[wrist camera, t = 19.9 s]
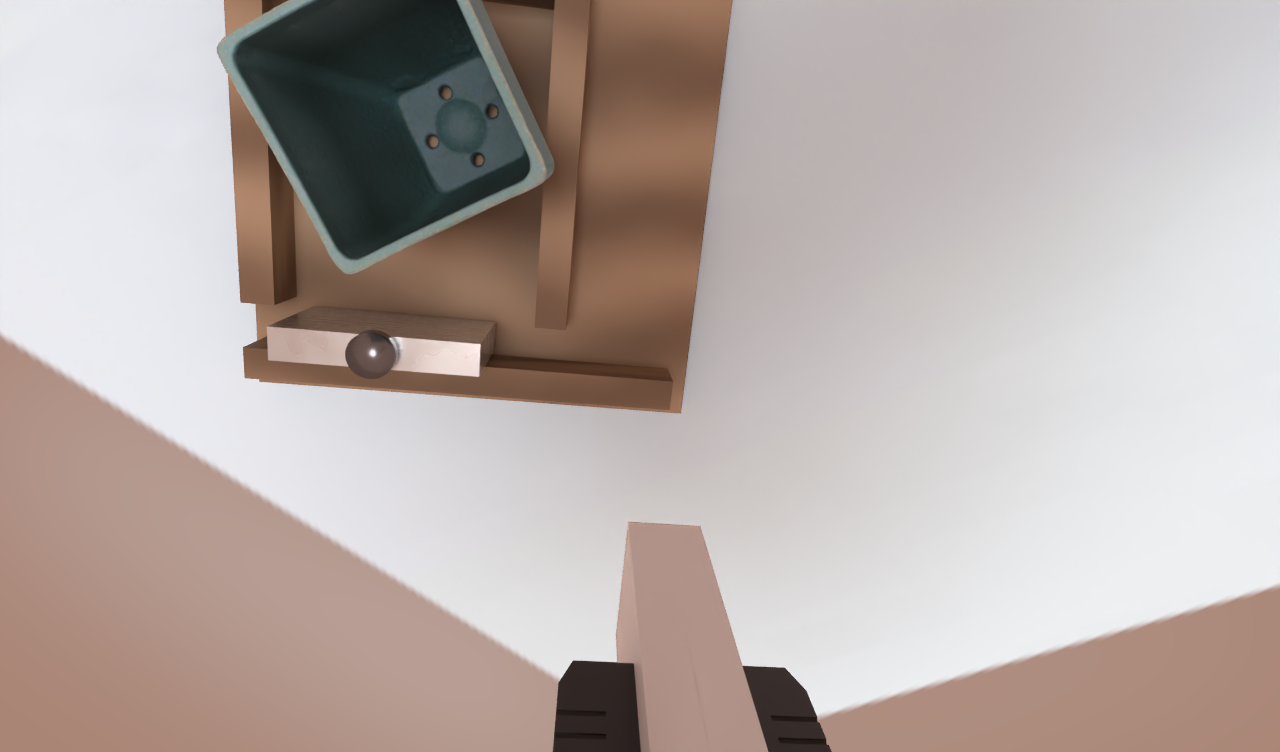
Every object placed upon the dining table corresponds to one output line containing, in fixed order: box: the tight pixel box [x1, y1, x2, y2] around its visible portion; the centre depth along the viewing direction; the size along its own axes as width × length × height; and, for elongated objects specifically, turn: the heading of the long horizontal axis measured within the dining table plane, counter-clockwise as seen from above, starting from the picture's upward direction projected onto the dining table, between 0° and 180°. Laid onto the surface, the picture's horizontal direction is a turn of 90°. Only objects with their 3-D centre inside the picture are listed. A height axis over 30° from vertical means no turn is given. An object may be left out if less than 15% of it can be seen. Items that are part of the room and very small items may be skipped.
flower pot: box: [217, 0, 555, 274], centre depth 27 cm, size 9×9×9 cm
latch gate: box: [267, 306, 496, 379], centre depth 31 cm, size 2×9×6 cm, turn 84°
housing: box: [224, 0, 732, 413], centre depth 32 cm, size 21×22×4 cm
